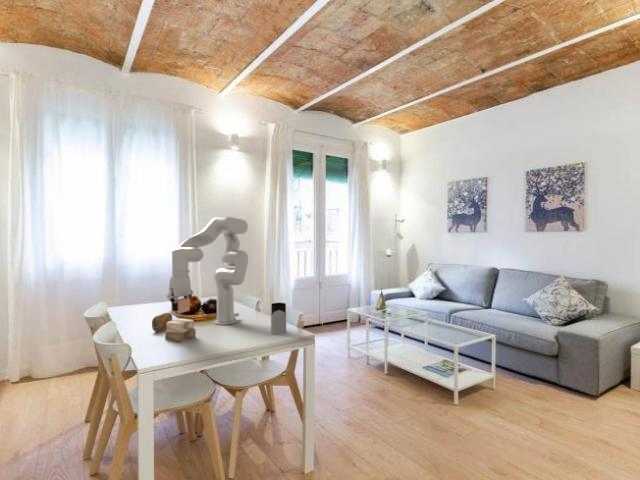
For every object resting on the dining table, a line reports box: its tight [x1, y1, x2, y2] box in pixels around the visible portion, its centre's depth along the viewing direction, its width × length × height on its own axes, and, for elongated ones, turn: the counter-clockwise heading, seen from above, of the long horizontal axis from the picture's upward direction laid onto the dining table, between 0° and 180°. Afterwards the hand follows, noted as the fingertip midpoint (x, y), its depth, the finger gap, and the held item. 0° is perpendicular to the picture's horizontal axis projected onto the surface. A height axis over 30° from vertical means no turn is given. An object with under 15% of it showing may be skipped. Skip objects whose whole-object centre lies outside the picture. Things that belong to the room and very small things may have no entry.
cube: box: [171, 297, 191, 314], centre depth 187 cm, size 6×6×6 cm
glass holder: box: [269, 302, 288, 336], centre depth 200 cm, size 9×14×15 cm, turn 9°
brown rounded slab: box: [151, 312, 173, 333], centre depth 204 cm, size 15×3×8 cm, turn 168°
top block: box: [165, 317, 195, 333], centre depth 187 cm, size 9×9×4 cm
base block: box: [164, 328, 196, 344], centre depth 187 cm, size 10×10×4 cm
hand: (180, 309), depth 187 cm, fingers closed on cube, 6 cm apart
